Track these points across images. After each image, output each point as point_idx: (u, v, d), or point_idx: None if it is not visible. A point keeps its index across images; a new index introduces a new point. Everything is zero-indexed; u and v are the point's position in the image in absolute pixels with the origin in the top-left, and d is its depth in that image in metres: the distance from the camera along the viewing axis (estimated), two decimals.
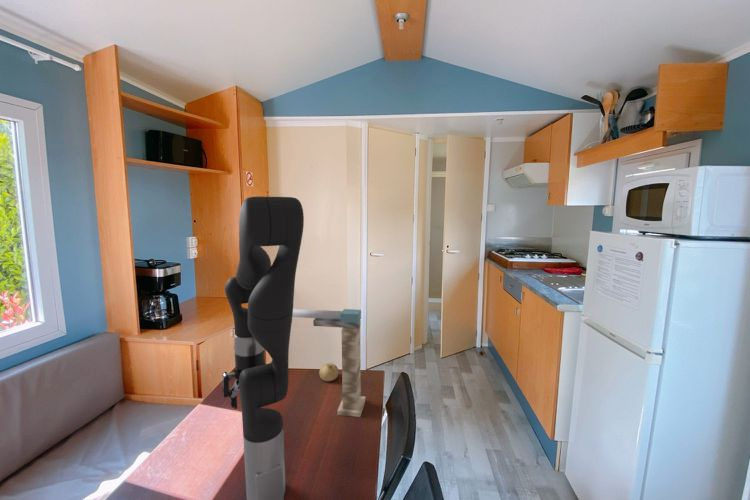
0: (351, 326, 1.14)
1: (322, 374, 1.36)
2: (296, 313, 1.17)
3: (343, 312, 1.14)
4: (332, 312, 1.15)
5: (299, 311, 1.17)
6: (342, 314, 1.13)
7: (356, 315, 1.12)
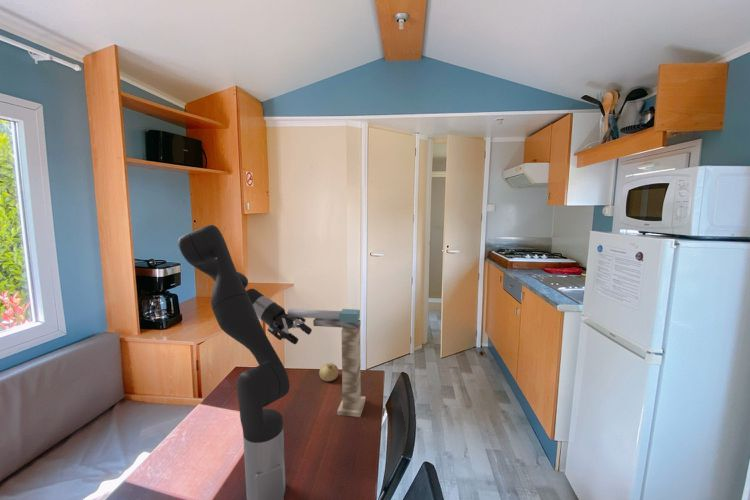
0: (351, 326, 1.14)
1: (322, 374, 1.36)
2: (294, 313, 1.17)
3: (342, 312, 1.14)
4: (331, 312, 1.15)
5: (298, 311, 1.17)
6: (341, 314, 1.13)
7: (355, 315, 1.12)
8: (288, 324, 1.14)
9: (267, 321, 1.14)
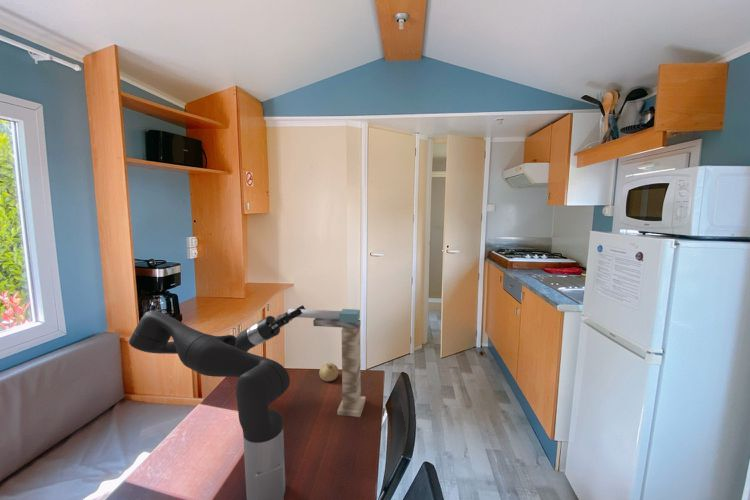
0: (351, 326, 1.14)
1: (322, 374, 1.36)
2: None
3: (342, 312, 1.14)
4: (331, 312, 1.15)
5: None
6: (341, 314, 1.13)
7: (355, 315, 1.12)
8: None
9: (267, 332, 1.17)
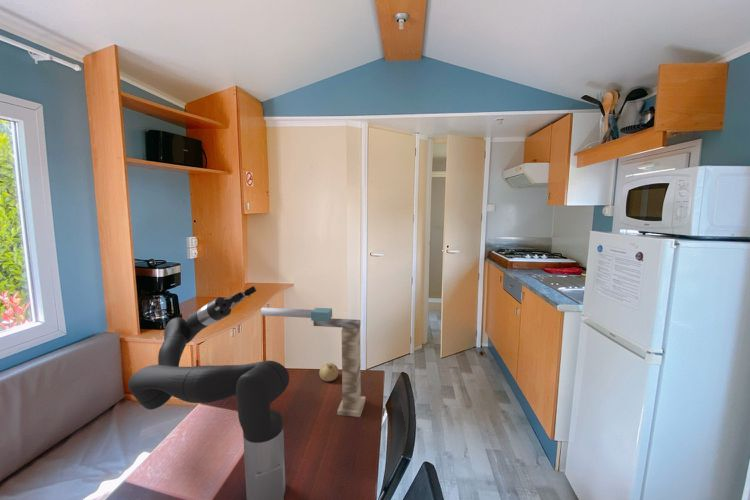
0: (351, 326, 1.14)
1: (322, 374, 1.36)
2: (268, 312, 1.18)
3: (314, 311, 1.15)
4: (303, 311, 1.17)
5: (271, 310, 1.18)
6: (312, 313, 1.14)
7: (326, 314, 1.14)
8: None
9: (215, 312, 1.19)
